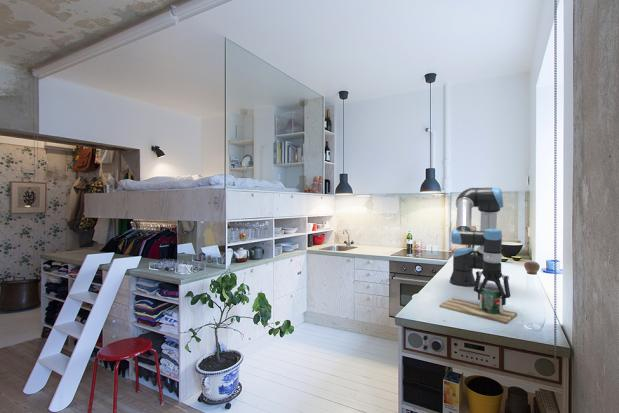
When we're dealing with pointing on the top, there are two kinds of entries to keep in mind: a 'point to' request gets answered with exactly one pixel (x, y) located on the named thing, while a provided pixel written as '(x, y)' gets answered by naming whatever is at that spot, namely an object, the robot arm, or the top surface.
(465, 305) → the board
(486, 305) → the canned tomato
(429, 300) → the top surface
